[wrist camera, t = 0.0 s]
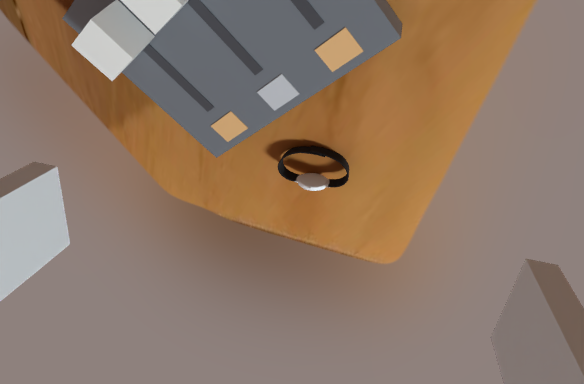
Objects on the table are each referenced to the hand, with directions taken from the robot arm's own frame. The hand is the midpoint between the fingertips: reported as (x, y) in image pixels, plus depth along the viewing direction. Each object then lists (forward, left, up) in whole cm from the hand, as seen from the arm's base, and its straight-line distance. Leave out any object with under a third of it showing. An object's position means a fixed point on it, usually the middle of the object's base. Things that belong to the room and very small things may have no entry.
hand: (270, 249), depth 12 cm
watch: (+17, +14, -28) cm, 36 cm away
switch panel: (+13, -3, -28) cm, 31 cm away
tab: (+20, -8, -25) cm, 33 cm away
